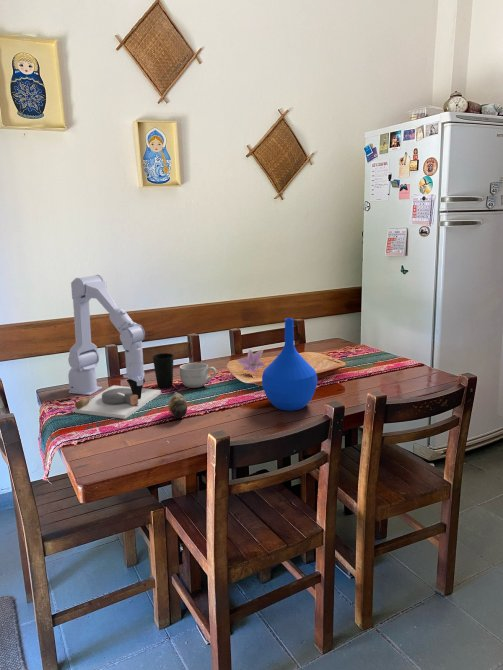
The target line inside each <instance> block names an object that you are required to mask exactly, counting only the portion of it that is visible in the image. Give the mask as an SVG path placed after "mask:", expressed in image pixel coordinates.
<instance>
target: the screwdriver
mask: <svg viewBox="0 0 503 670" xmlns="http://www.w3.org/2000/svg"><path fill="white" fill-rule="evenodd" d="M95 396H96V394H95V395H92V396H90V397H83V398H82V399H80V400H78V401H76V402H75V403H74V408H75V407H76V408H77V409H80V408H82V407H84V406H85V405H87V404H88V403H89V400H91V399H92V398H94V397H95Z"/></svg>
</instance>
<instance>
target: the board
mask: <svg viewBox="0 0 503 670" xmlns="http://www.w3.org/2000/svg"><path fill="white" fill-rule="evenodd" d="M117 388H129V389H131V388H130V386H121V385H111V386H110V387H108V388H106V389H104V390H103V391H102V392H99V393H97V394H95V397H94V398H92V399H91V400H89V403H88V404H87V405H85V406H84V407H82V408H80V409H77V408H76V407H75V406H74V407H73V408H72V413H74V412H75V413H74V414H82V415H83V414H84V415H92V416H99V417H106V418H109V417H110V418H115V419H116V418H117V419H124V420H125V419H127V418H129V417H130V416H131V415H133V414H134V413H135V412H137V411H138V410H140V409H141V408H143V407H145V405H147V404H148V403H150V402H151V401H153V400H154V399H155V398H156V397H159V396H160V395H161V394H162V389H153V388H144V387H142V392H141V399H138V404H137V405H134V406H133V405H131V404H128V403H122V404H106V403H104V402H103V401H102V394H103V393H104V392H106V391H108V390H111V389H117ZM149 401H150V402H149ZM146 403H147V404H146ZM132 413H133V414H132Z"/></svg>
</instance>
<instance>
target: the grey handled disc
mask: <svg viewBox="0 0 503 670" xmlns="http://www.w3.org/2000/svg"><path fill="white" fill-rule="evenodd" d="M102 401H103V402H104V403H106V404H122V403H128V404H131V405H133V406H134V405H137V404H138V395H135V394H132V391H131V389H129V388H117V389H111V390H108V391H106V392H104V393H103V394H102Z"/></svg>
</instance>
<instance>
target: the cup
mask: <svg viewBox="0 0 503 670" xmlns="http://www.w3.org/2000/svg"><path fill="white" fill-rule="evenodd" d="M174 356H175V355H174V354H173V353H170V352H169V353H168V352H167V353H166V352H165V353H163V352H161V353H157V354H154V355H153V356H152V361H153V362H152V363H153V367H154V374H155V379H156V385H157V389H159V388H160V389H159V390H168V389H171V388H172V387H173V385H174V384H173V383H174V381H173V380H174Z"/></svg>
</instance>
